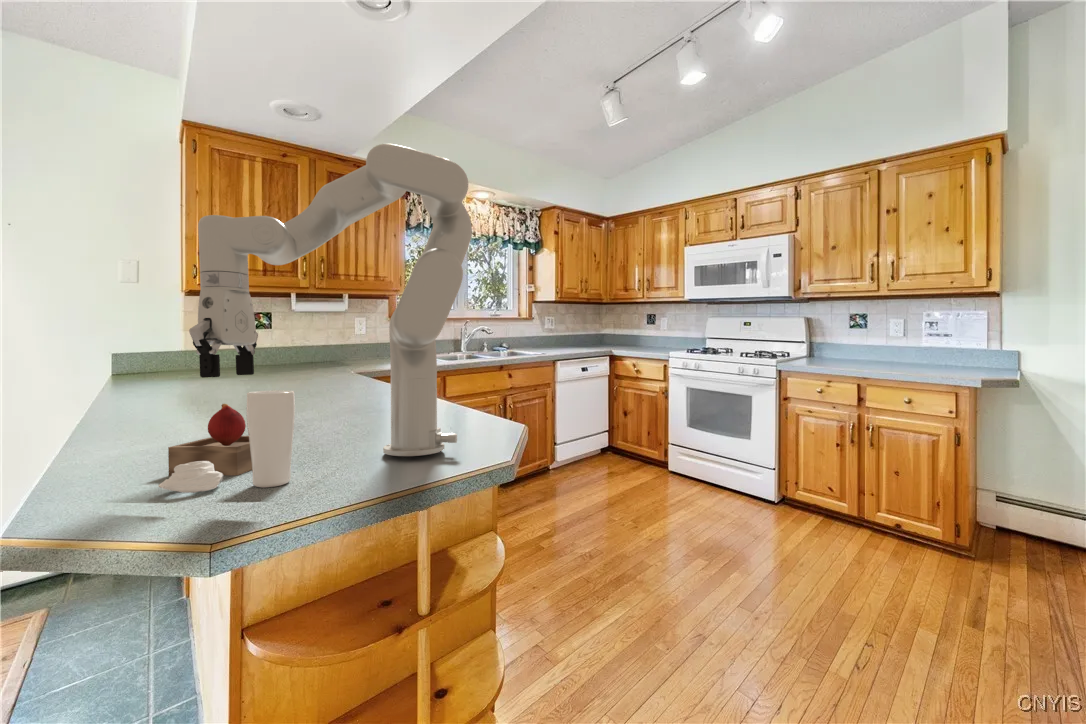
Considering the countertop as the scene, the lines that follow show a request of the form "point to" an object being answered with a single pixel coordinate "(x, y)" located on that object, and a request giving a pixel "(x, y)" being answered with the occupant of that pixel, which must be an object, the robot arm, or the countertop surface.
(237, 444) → the walnut base
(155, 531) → the countertop surface
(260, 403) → the drinking glass
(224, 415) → the onion
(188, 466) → the whipped cream
